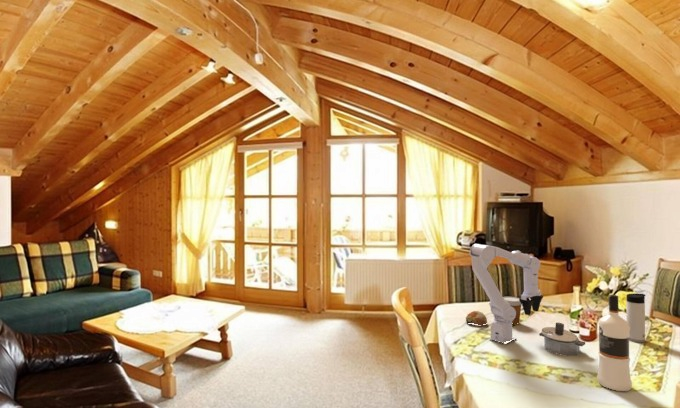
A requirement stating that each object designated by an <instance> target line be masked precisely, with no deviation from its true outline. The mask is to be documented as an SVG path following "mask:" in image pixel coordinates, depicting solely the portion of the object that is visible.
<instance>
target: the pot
mask: <svg viewBox="0 0 680 408" xmlns="http://www.w3.org/2000/svg"><path fill="white" fill-rule="evenodd" d="M538 335H539V336H540V337H544V339H543V340H544V348H545V350H547V351H548V350H549V351H548V352H550V351H551V352H550V353H553V354H556V353H557V354H556V355H560V354H561V356H571V357H572V356H577V355H579V354H580V353H581V352H580V351H581V349H580V347H584V346H585V345H586V342H585V341H583V340H580V339H579V337H578V336H577V340H576V341H575V342H561V341H557V340H553V339H551V338H548V337H546V336H545V335H543V334H542V331H541V332H540V333H539V334H538Z"/></svg>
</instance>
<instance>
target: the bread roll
mask: <svg viewBox="0 0 680 408" xmlns="http://www.w3.org/2000/svg"><path fill="white" fill-rule="evenodd" d="M487 319H488V318H487V316H486V315H485V314H484V312H481V311H479V310H473V311H471V312H469V313H468V314H467V315H466V317H465V322H466V323H467V324H468V323H474V324H478V325H483V324H486V323H488V320H487Z"/></svg>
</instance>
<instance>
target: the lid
mask: <svg viewBox="0 0 680 408" xmlns="http://www.w3.org/2000/svg"><path fill="white" fill-rule="evenodd" d="M541 332H542V334H543V335H545V336H546V337H548V338H551V339H553V340H557V341H561V342H575V341H576V340H577V337H578V336H577V335H576V333H573V332H572V331H569V330H566V329H565V324H564V323H562V322H555V327H554V326H553V327H552V326H546V327H543V328H542V329H541Z"/></svg>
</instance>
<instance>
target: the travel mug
mask: <svg viewBox="0 0 680 408" xmlns="http://www.w3.org/2000/svg"><path fill="white" fill-rule="evenodd" d="M645 297H646V294H644V293H636V292H635V293H628V294H626V299H625V301H626V306H625V307H626V321H627V322H628V324H629V326H630V331H629V334H630V336H629V342H634V343H641V344H642V343H645V342H646V301H645Z"/></svg>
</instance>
